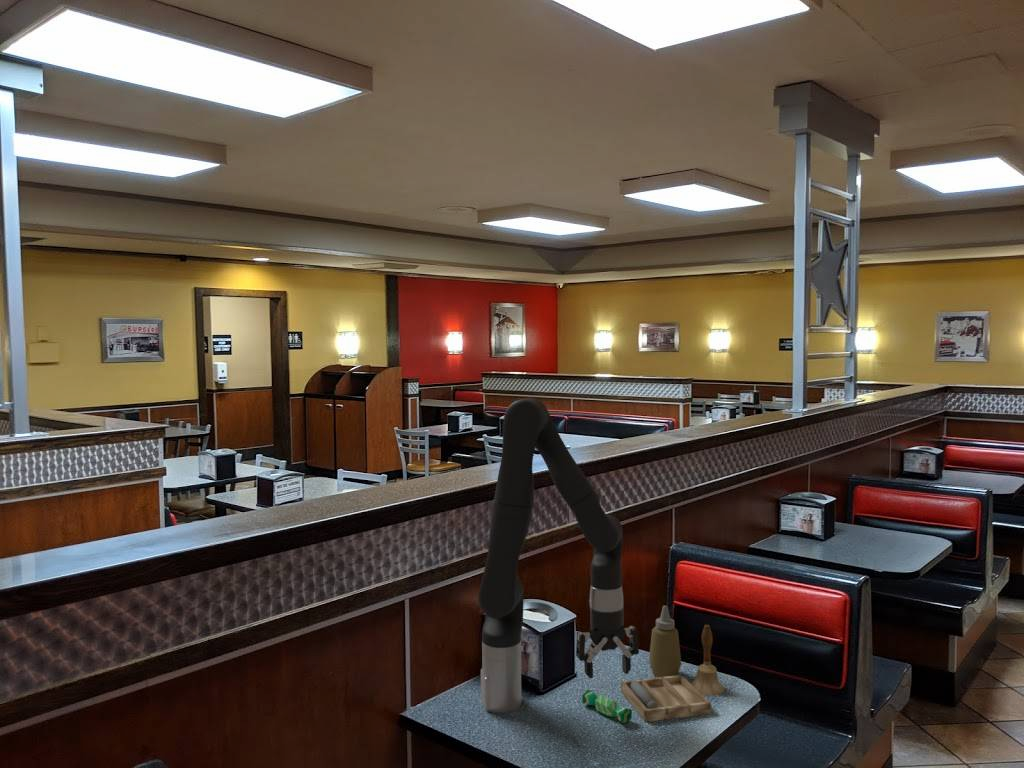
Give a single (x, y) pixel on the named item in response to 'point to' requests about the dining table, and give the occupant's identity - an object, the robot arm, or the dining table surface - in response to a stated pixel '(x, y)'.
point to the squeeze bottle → (665, 647)
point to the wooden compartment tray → (667, 698)
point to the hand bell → (707, 669)
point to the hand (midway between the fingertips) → (607, 674)
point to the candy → (607, 706)
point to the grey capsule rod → (643, 695)
